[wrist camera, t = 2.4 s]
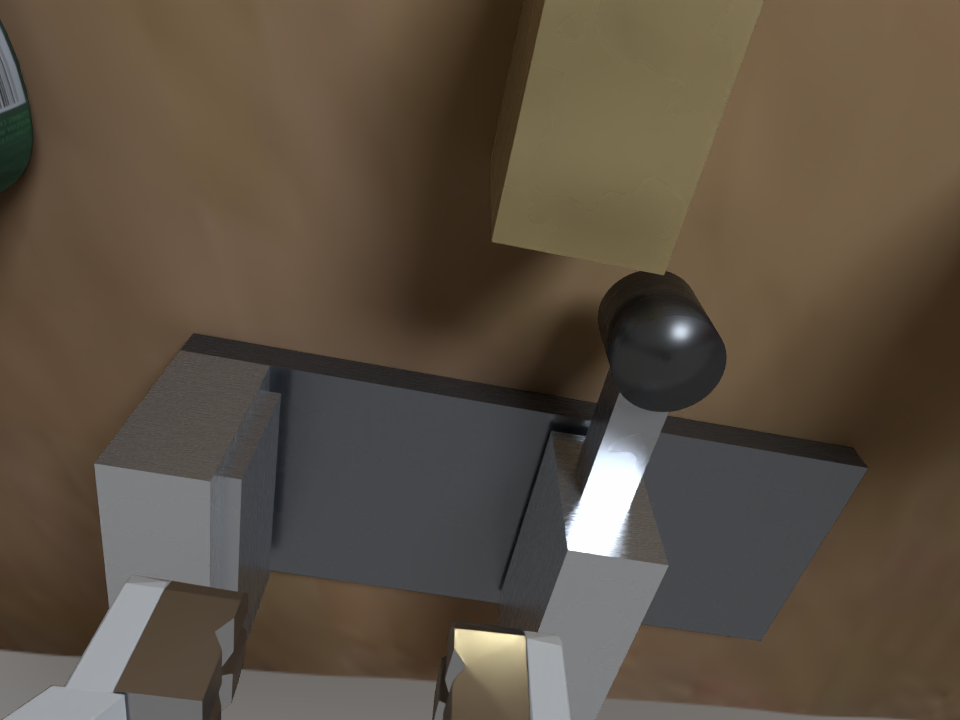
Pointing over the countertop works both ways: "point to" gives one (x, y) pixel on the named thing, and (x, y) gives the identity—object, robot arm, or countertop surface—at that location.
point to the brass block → (611, 123)
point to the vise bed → (432, 486)
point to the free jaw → (610, 488)
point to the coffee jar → (13, 116)
